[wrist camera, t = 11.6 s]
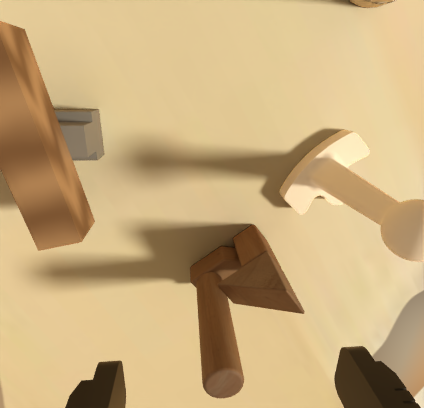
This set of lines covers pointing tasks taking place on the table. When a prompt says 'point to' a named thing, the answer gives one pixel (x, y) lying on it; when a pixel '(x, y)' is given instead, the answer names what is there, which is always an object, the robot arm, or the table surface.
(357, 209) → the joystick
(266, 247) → the brown rod with wedge
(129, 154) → the table surface
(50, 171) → the walnut bar
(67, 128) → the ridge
